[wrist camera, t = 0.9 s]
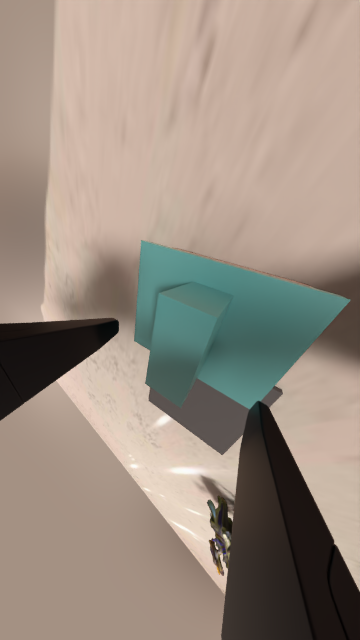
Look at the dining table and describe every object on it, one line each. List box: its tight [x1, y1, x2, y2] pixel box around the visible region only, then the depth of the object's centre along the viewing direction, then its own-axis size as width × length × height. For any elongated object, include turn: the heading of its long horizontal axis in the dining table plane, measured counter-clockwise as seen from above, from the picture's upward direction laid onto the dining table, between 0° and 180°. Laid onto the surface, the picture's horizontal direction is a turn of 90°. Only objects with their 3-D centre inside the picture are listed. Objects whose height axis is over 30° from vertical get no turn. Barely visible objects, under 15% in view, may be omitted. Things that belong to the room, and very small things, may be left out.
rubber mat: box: [149, 378, 283, 455], centre depth 23 cm, size 17×19×1 cm
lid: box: [134, 240, 350, 409], centre depth 11 cm, size 13×10×6 cm
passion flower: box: [207, 496, 233, 576], centre depth 26 cm, size 11×11×12 cm
